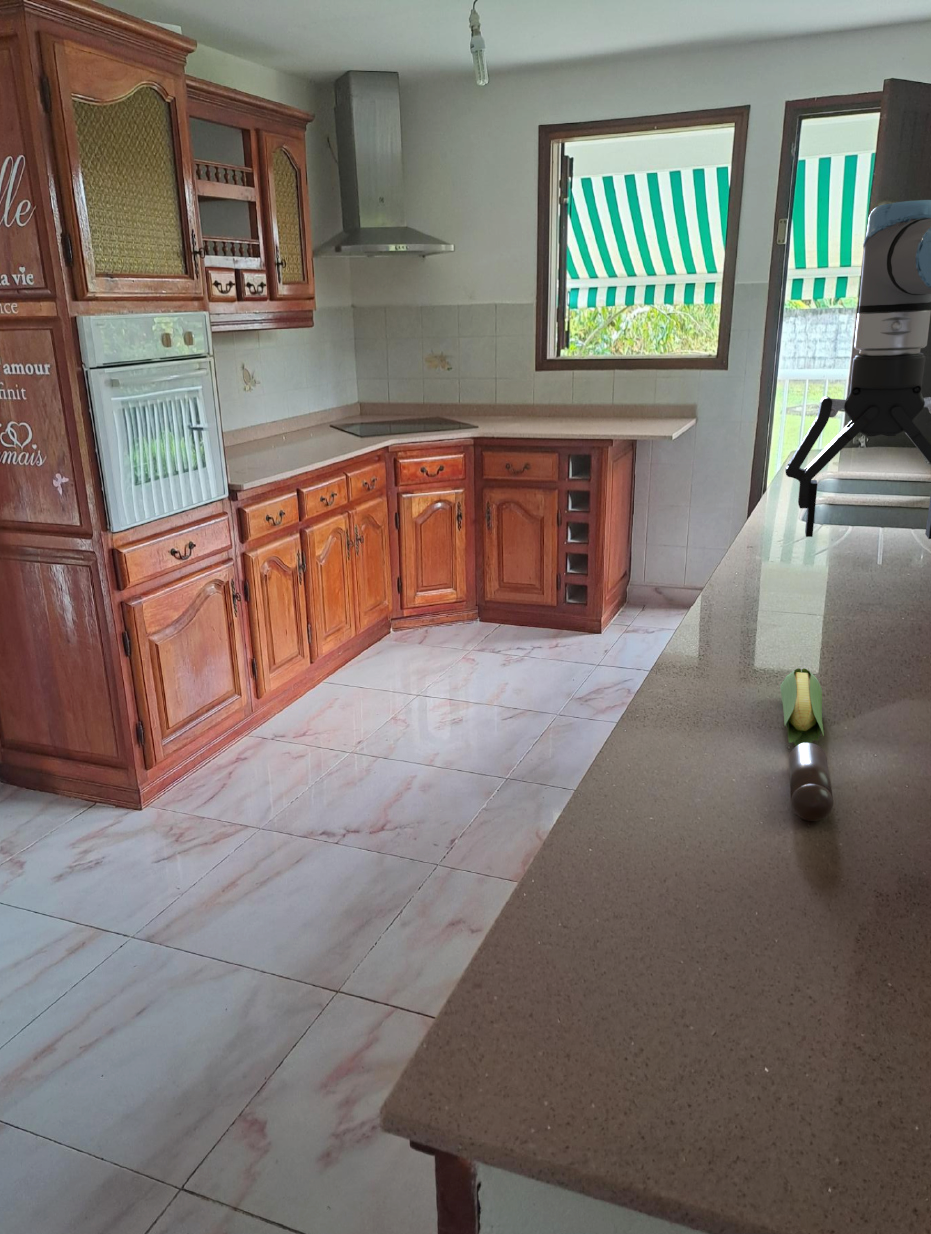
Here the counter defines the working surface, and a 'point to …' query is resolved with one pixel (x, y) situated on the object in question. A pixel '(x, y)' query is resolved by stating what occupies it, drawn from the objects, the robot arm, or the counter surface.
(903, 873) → the counter surface
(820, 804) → the dark brown capsule
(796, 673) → the edible corn
